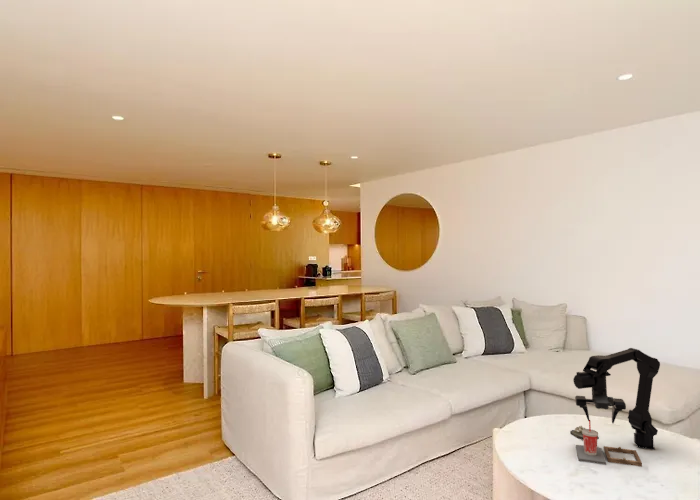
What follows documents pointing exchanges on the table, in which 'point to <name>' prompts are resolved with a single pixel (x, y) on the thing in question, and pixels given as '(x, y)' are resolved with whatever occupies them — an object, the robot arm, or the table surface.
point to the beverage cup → (590, 440)
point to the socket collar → (623, 461)
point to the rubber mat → (585, 457)
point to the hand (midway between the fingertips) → (600, 422)
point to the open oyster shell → (578, 432)
